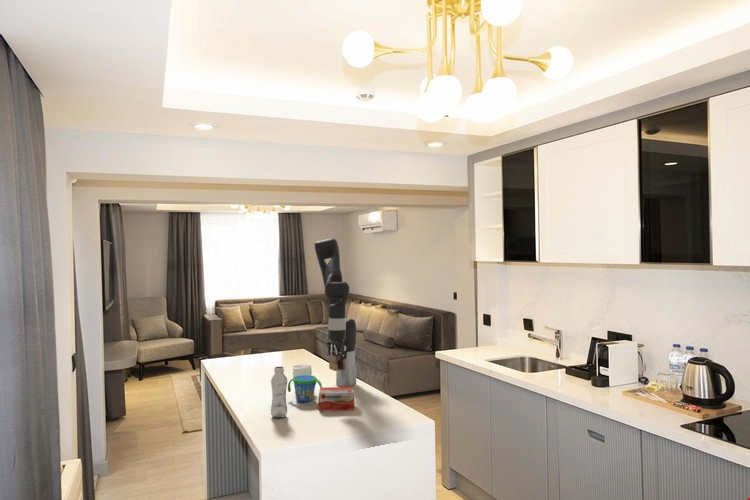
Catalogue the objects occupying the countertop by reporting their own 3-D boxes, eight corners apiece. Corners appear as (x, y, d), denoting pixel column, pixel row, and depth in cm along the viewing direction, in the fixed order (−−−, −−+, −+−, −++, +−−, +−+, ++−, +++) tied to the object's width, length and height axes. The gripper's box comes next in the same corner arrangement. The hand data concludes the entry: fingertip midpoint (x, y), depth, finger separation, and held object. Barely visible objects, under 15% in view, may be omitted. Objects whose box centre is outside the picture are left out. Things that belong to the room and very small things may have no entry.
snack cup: (325, 398, 232) (325, 376, 233) (316, 405, 222) (316, 381, 222) (294, 395, 237) (294, 373, 237) (283, 402, 227) (283, 379, 227)
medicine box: (318, 411, 214) (318, 392, 214) (319, 405, 222) (319, 387, 222) (354, 410, 215) (354, 391, 215) (354, 405, 223) (354, 386, 223)
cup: (308, 395, 238) (308, 369, 238) (289, 394, 240) (289, 368, 240) (314, 390, 247) (314, 365, 247) (296, 389, 249) (296, 364, 249)
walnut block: (339, 367, 223) (339, 353, 223) (345, 369, 219) (345, 355, 219) (329, 368, 220) (329, 354, 220) (335, 371, 216) (335, 356, 216)
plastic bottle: (271, 414, 210) (271, 365, 210) (288, 414, 210) (288, 365, 210) (269, 419, 203) (269, 369, 203) (286, 419, 204) (286, 369, 204)
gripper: (353, 329, 216) (353, 369, 216) (336, 325, 228) (336, 363, 228) (337, 331, 212) (338, 372, 212) (321, 327, 224) (321, 365, 224)
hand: (337, 367), depth 220 cm, fingers closed on walnut block, 5 cm apart
